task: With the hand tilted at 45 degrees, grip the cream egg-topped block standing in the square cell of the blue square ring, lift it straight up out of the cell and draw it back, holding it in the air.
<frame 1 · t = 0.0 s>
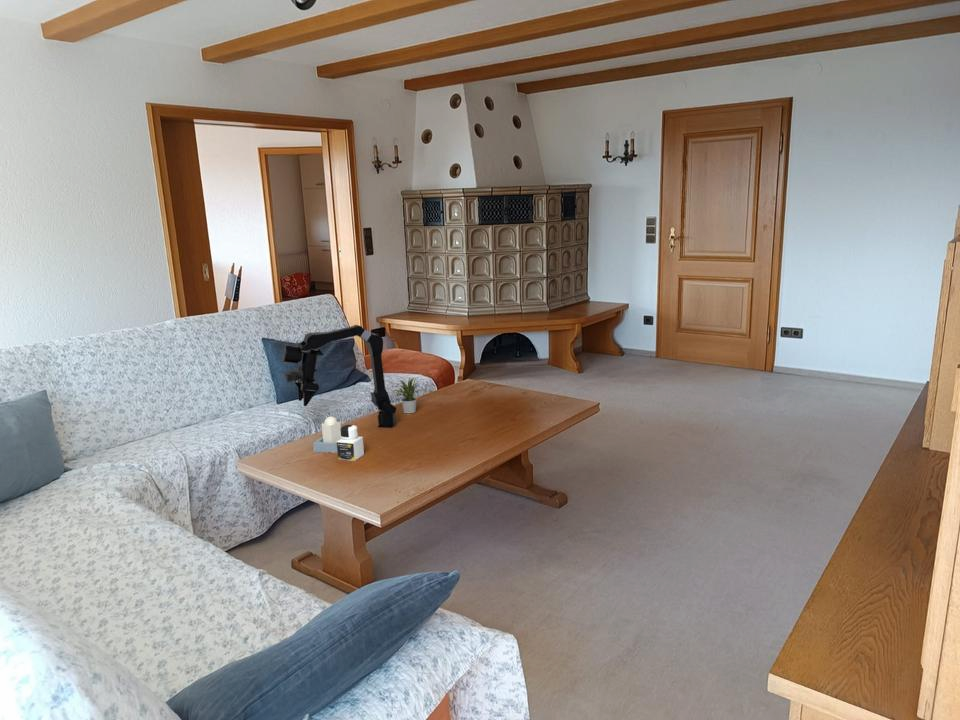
hand: (302, 403, 262), 15 cm above the table, tool pointing down, fingers open, 9 cm apart
blue square ring: (333, 447, 255), on the table
medicine bottle: (351, 457, 244), on the table
house plant: (409, 412, 299), on the table
cream egg block: (333, 447, 256), resting in blue square ring
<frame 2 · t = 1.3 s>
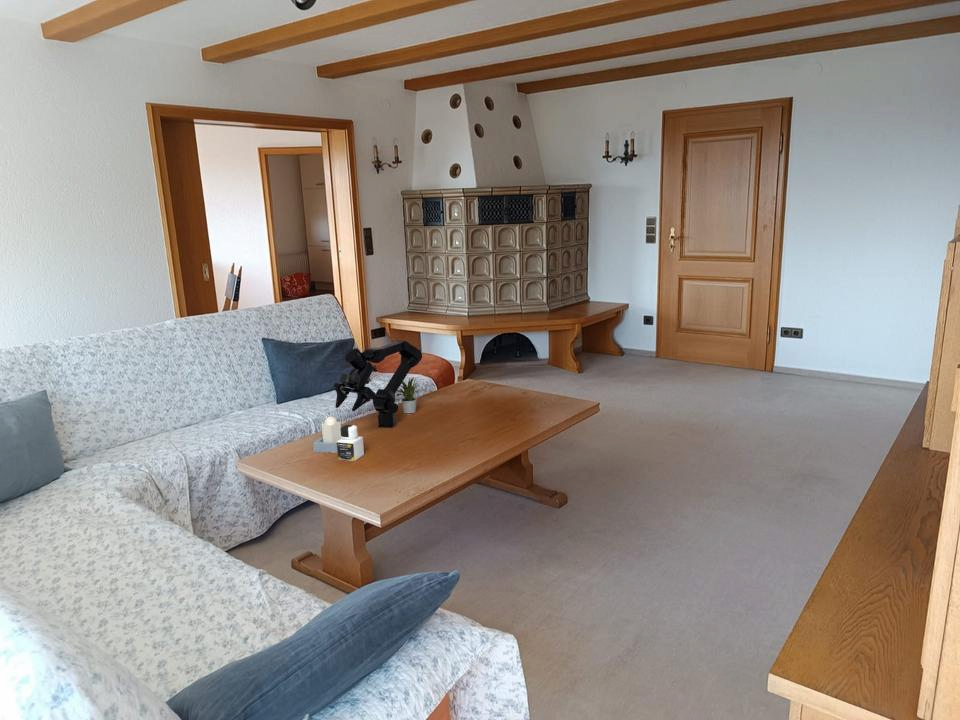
hand: (344, 409, 259), 13 cm above the table, tool tilted 45°, fingers open, 9 cm apart
nothing on the table moved.
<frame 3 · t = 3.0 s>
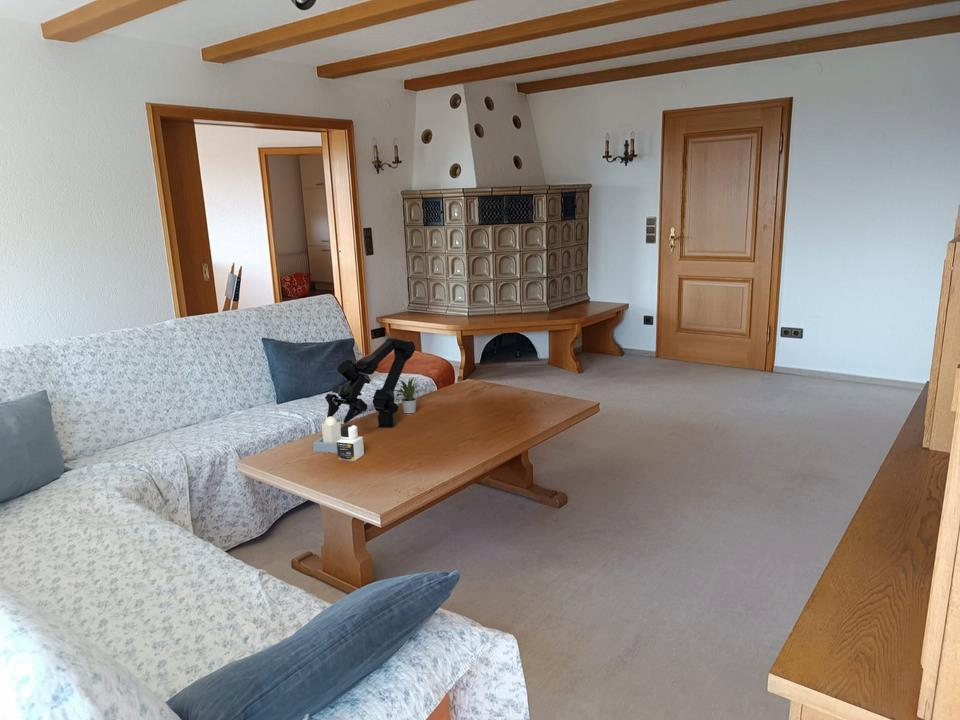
hand: (336, 421, 255), 10 cm above the table, tool tilted 45°, fingers open, 9 cm apart
nothing on the table moved.
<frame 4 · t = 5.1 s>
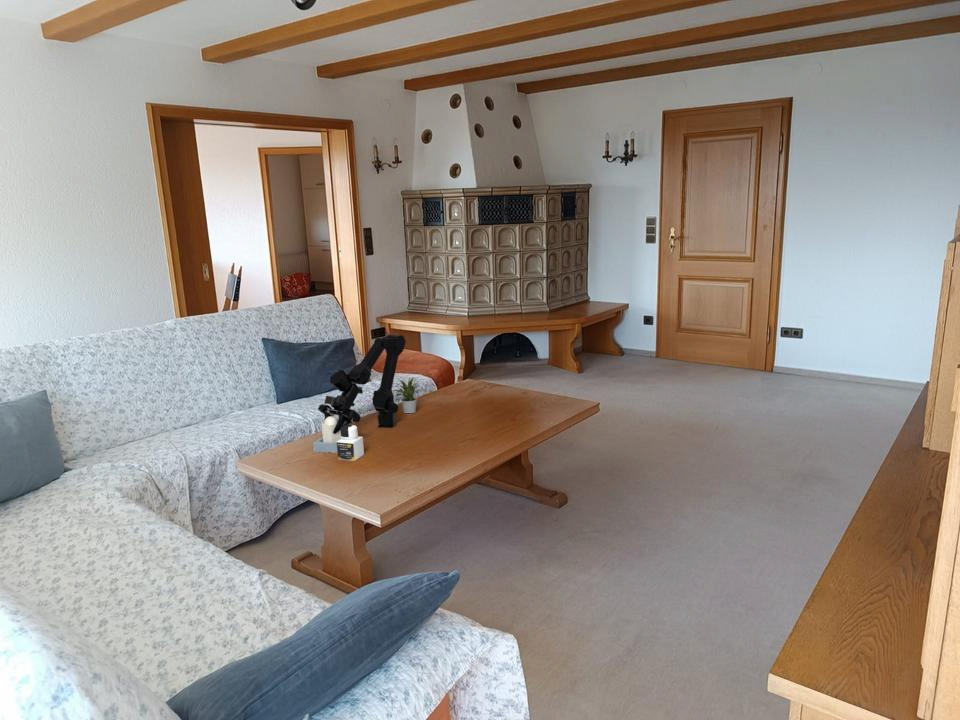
hand: (328, 432, 253), 7 cm above the table, tool tilted 45°, fingers closed on cream egg block, 5 cm apart
cream egg block: (333, 447, 255), resting in blue square ring, touching gripper
everything else where it was.
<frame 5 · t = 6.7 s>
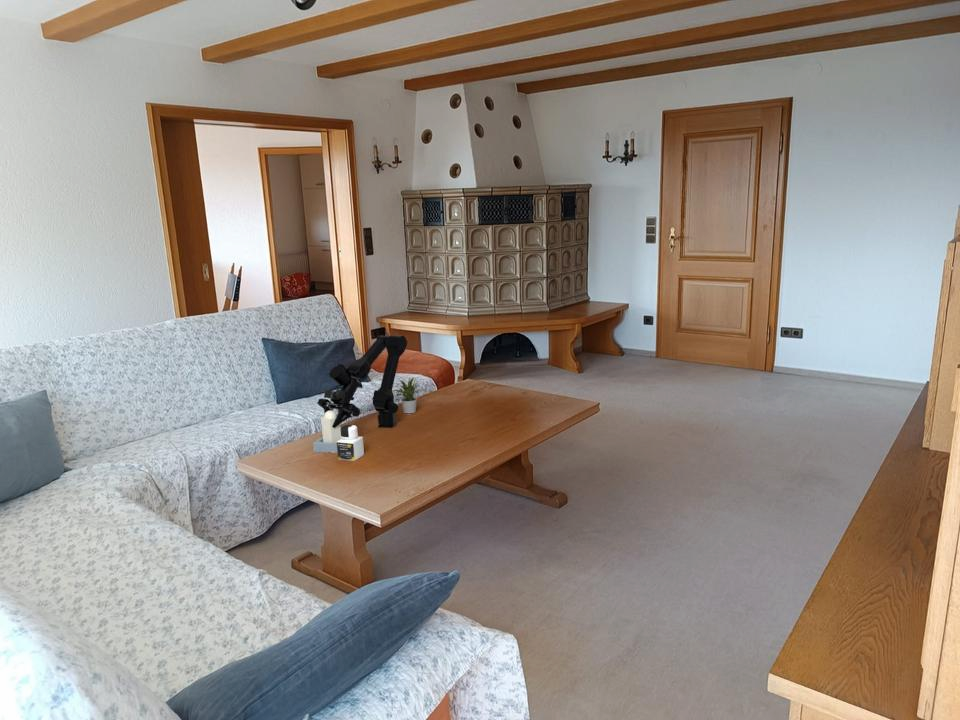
hand: (328, 426, 252), 9 cm above the table, tool tilted 45°, fingers closed on cream egg block, 5 cm apart
cream egg block: (332, 441, 255), point 2 cm above the table, touching gripper
everything else where it was.
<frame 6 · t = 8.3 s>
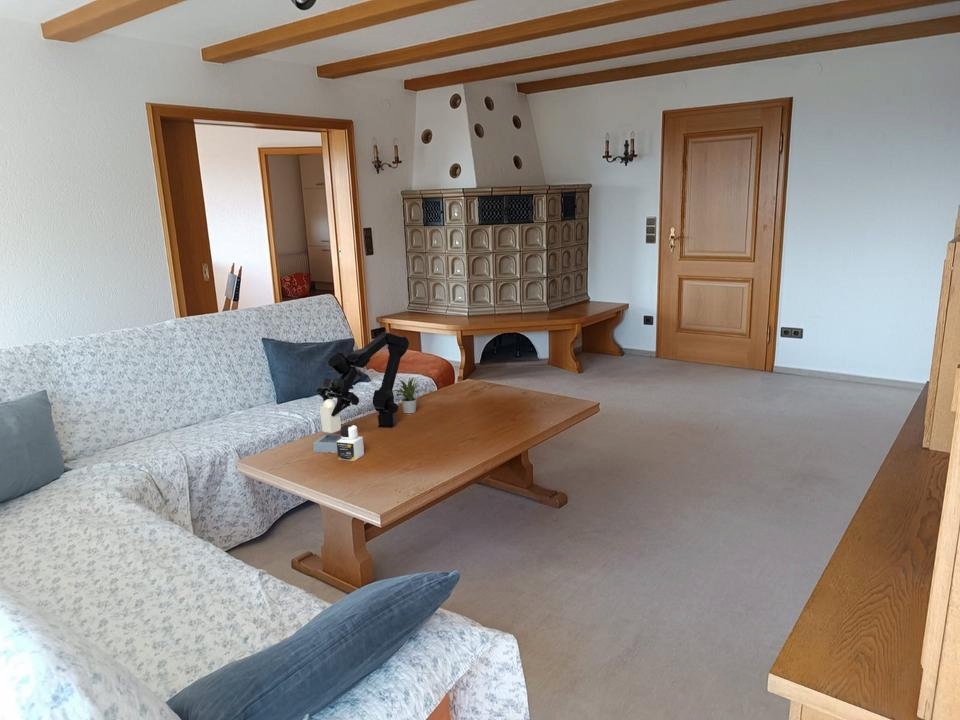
hand: (327, 415, 252), 13 cm above the table, tool tilted 45°, fingers closed on cream egg block, 5 cm apart
cream egg block: (331, 430, 254), point 7 cm above the table, touching gripper
everything else where it was.
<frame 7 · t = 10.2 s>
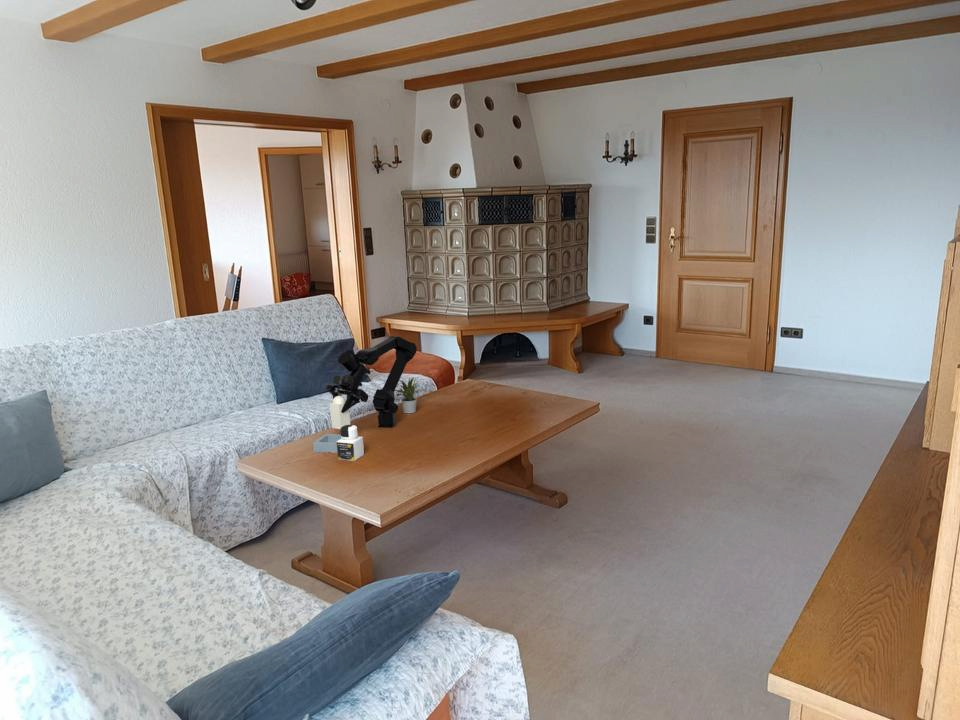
hand: (337, 411, 255), 14 cm above the table, tool tilted 45°, fingers closed on cream egg block, 5 cm apart
cream egg block: (341, 426, 258), point 7 cm above the table, touching gripper
everything else where it was.
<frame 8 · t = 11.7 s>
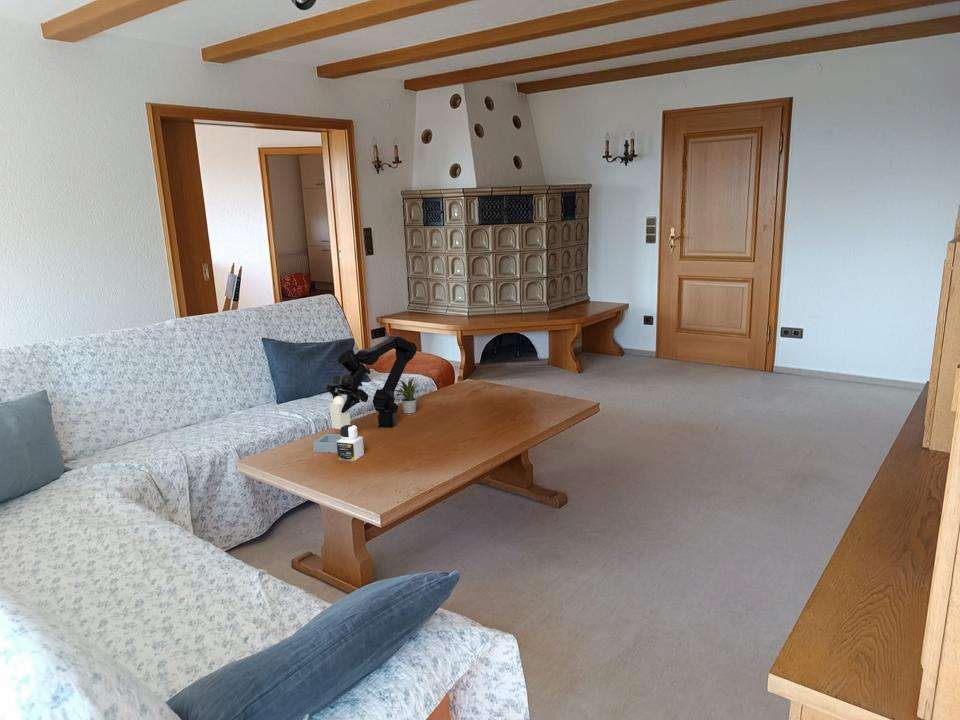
hand: (337, 411, 255), 14 cm above the table, tool tilted 45°, fingers closed on cream egg block, 5 cm apart
cream egg block: (341, 426, 258), point 7 cm above the table, touching gripper
everything else where it was.
at the end: the gripper is holding cream egg block; cream egg block point 6.9 cm above the table; cream egg block touching gripper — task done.
